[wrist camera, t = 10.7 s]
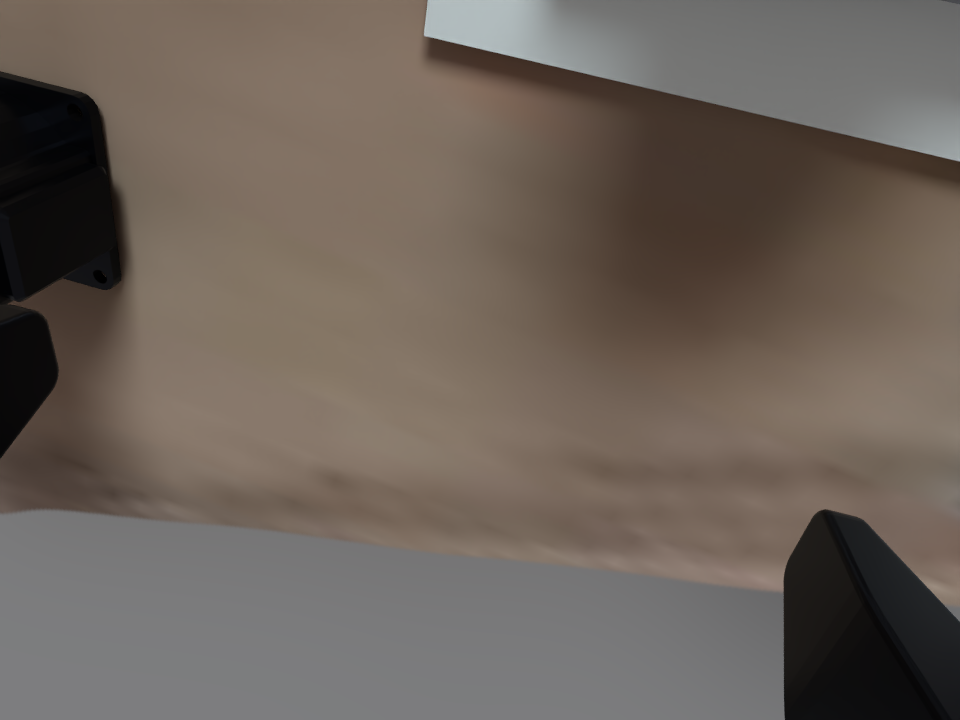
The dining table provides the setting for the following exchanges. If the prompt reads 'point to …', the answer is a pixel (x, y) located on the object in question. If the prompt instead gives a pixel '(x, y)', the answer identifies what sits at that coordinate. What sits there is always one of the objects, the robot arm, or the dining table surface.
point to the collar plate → (749, 56)
